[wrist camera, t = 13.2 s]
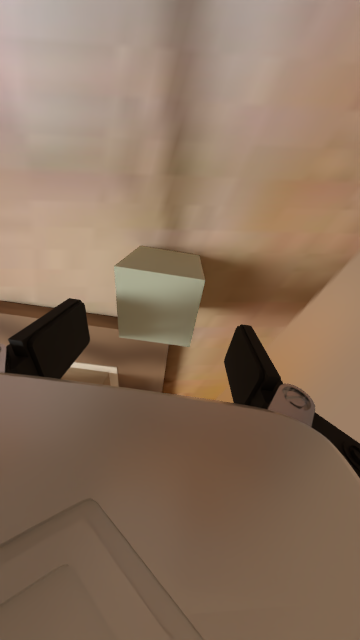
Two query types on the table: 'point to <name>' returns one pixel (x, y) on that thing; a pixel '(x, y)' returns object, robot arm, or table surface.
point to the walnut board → (100, 348)
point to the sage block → (158, 295)
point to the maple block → (87, 376)
